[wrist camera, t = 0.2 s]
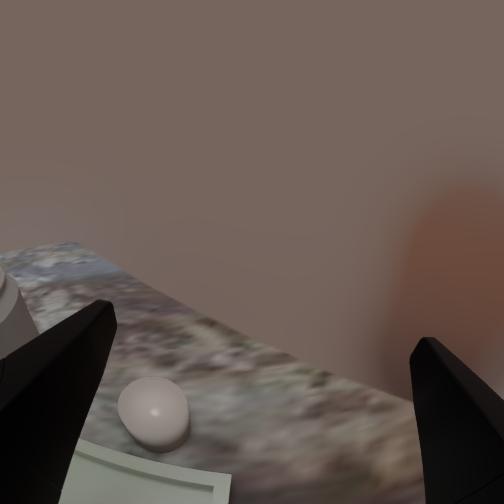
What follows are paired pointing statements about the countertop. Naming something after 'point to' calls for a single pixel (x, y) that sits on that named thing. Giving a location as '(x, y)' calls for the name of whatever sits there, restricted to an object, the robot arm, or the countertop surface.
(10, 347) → the can
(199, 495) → the tray
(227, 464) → the countertop surface
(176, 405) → the off-white egg
